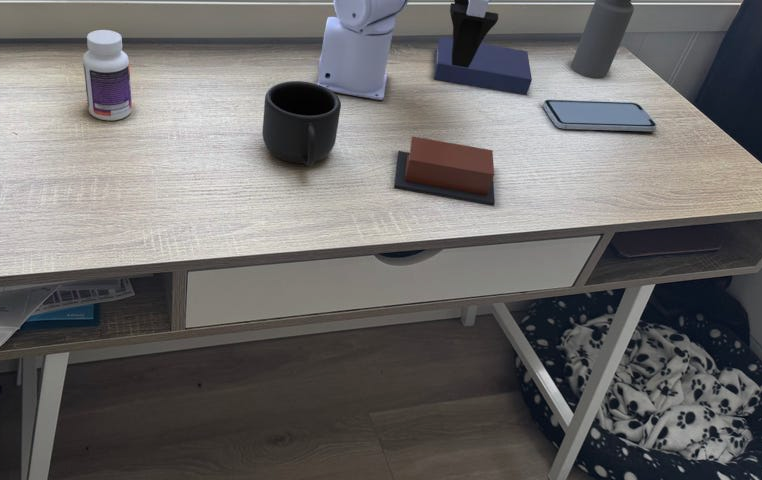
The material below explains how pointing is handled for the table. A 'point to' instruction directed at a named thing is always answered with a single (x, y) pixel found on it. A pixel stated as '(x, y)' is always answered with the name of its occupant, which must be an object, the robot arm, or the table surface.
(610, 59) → the bottle
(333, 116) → the mug
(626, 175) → the table surface
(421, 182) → the block
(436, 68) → the hardcover book
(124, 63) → the pill bottle
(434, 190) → the rubber mat
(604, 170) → the table surface
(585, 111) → the smartphone
